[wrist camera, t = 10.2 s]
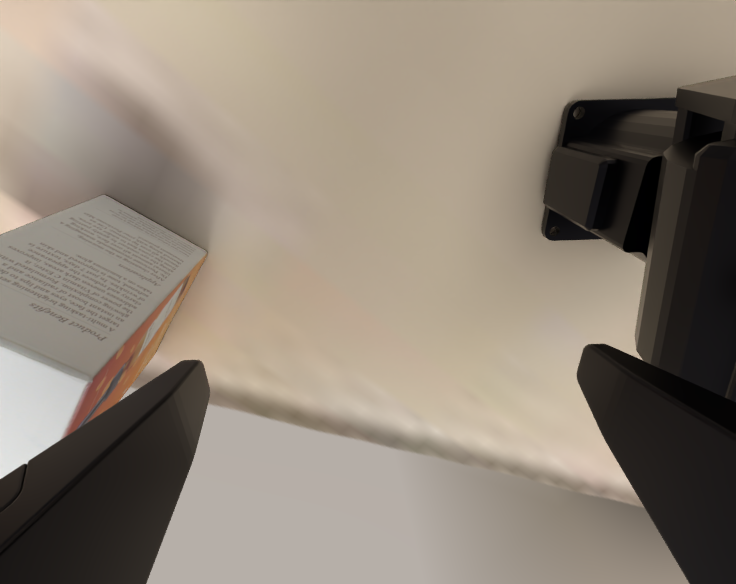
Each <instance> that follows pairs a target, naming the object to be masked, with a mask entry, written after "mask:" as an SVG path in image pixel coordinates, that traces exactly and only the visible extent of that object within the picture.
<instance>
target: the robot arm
mask: <svg viewBox="0 0 736 584" xmlns="http://www.w3.org/2000/svg"><path fill="white" fill-rule="evenodd" d="M577 107H579V108H580V114H579V116H578V117H577V118H574V116H573V113H574V110H575V109H576V108H577ZM543 202H544V204H545V205H546V209H545V214H544V219H543V224H542V234H543V236H544V237H546V238H547V239H548V240H552V241H557V240H588V239H604V240H606V241H607V242H609V243H611V244H612V245H614V246H616V247H618V248H619V249H621V250H623V251H624V252H628V253H630V254H632V255H634V256H635V257H637V258H639V259H640V260H642V261H644V262H646V266H645V272H644V279H643V285H642V292H641V298H640V304H639V311H638V317H637V324H636V330H635V341H636V350H637V352H638V353H639V355H640V356H641V358H642V359H643V361H642V360H640V359H638V358H636V357H633V356H631V355H629V354H627V353H624V352H622V351H620V350H618V349H616V348H613V347H611V346H609V345H606V344H588V345H586V346H585V347H584V349H583V352H582V356H581V359H580V363H579V366H578V370H577V380H578V383H579V385H580V387H581V390H582V392H583V394H584V396H585V398H586V401H587V403H588V405H589V407H590V409H591V411H592V414H593V416H594V418H595V420H596V422H597V425H598V427H599V429H600V431H601V433H602V435H603V437H604V439H605V441H606V443H607V444H608V446H609V448H610V450H611V451H612V453H613V455H614V456H615V458H616V460H617V462H618V463H619V465H620V467H621V468H622V470H623V472H624V473H625V475H626V477H627V479H628V480H629V482H630V484H631V485H632V487H633V489H634V490H635V492H636V494H637V495H638V497H639V499H640V501H641V502H642V504H643V506H644V507H645V509H646V511H647V512H648V514H649V516H650V518H651V519H652V521H653V522H654V524H655V526H656V528H657V529H658V531H659V533H660V534H661V536H662V538H663V540H664V541H665V543H666V545H667V546H668V548H669V550H670V551H671V553H672V555H673V556H674V558H675V560H676V562H677V563H678V565H679V567H680V568H681V570H682V572H683V573H684V575H685V577H686V579H687V580H688V582H689V583H690V584H736V76H731V77H726V78H721V79H716V80H711V81H707V82H702V83H697V84H692V85H687V86H682V87H678V89H677V95H676V98H646V99H606V100H576V101H572V102H571V103H569V104H568V105H567V107H566V108H565V111H564V114H563V119H562V124H561V130H560V135H559V140H558V145H557V148H556V149H555V150H554V151H553V153H552V158H551V163H550V168H549V174H548V179H547V185H546V190H545V195H544V201H543ZM555 226H556V230H555V231H554V232H553V233H551V234H550V230H551V228H553V227H555ZM209 397H210V387H209V383H208V379H207V376H206V372H205V368H204V365H203V363H202V361H200V360H184V361H181V362H179V363H178V364H176V365H175V366H173V367H172V368H170V369H169V370H167V371H166V372H164V373H163V374H161V375H159V376H158V377H156V378H155V379H153V380H152V381H150V382H149V383H147V384H146V385H144V386H143V387H141V388H139V389H138V390H136V391H135V392H133V393H132V394H131V395H129V396H127V397H126V398H124V399H123V400H121V401H119V402H118V403H116V404H115V405H113V406H112V407H110V408H109V409H107V410H106V411H104V412H103V413H101V414H99V415H98V416H96V417H95V418H93V419H92V420H90V421H89V422H87V423H86V424H84V425H83V426H81V427H80V428H78V429H76V430H75V431H73V432H72V433H70V434H69V435H67V436H66V437H64V438H63V439H61V440H60V441H58V442H56V443H55V444H53V445H52V446H50V447H49V448H47V449H46V450H44V451H43V452H41V453H40V454H38V455H36V456H35V457H33V458H32V459H30V460H29V461H28V463H27V464H22V465H21V466H19V467H18V468H16V469H15V470H13V471H12V472H10V473H9V474H7V475H6V476H4V477H3V478H1V479H0V584H146V583H147V580H148V577H149V575H150V572H151V570H152V567H153V564H154V562H155V559H156V556H157V554H158V551H159V548H160V546H161V543H162V541H163V538H164V535H165V533H166V530H167V527H168V525H169V522H170V520H171V517H172V514H173V512H174V509H175V506H176V504H177V501H178V499H179V496H180V493H181V491H182V488H183V485H184V483H185V480H186V478H187V475H188V472H189V470H190V467H191V464H192V461H193V458H194V455H195V452H196V448H197V444H198V440H199V436H200V433H201V429H202V425H203V421H204V417H205V413H206V409H207V405H208V401H209Z"/></svg>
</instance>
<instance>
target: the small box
mask: <svg viewBox="0 0 736 584" xmlns="http://www.w3.org/2000/svg"><path fill="white" fill-rule="evenodd" d="M206 256H207V251H205V250H204V249H202V248H200V247H198V246H196V245H194V244H193V243H191V242H189V241H187V240H185V239H184V238H182V237H180V236H178V235H177V234H175V233H173V232H171V231H170V230H168V229H166V228H164V227H162V226H161V225H159V224H157V223H155V222H153V221H152V220H150V219H148V218H146V217H144V216H143V215H141V214H139V213H137V212H135V211H133V210H132V209H130V208H128V207H126V206H124V205H123V204H121V203H119V202H117V201H115V200H114V199H112V198H110V197H108V196H106V195H100V196H98V197H96V198H93V199H91V200H88V201H86V202H83V203H81V204H78V205H75V206H73V207H70V208H68V209H65V210H62V211H60V212H57V213H55V214H53V215H50V216H47V217H44V218H42V219H39V220H36V221H34V222H32V223H29V224H26V225H24V226H21V227H19V228H16V229H14V230H11V231H8V232H6V233H3V234H1V235H0V479H1V478H3V477H4V476H6V475H7V474H9V473H10V472H12V471H13V470H15V469H16V468H18V467H19V466H21V465H22V464H27V463H28V461H29V460H30V459H32V458H33V457H35V456H36V455H38V454H40V453H41V452H43V451H44V450H46V449H47V448H49V447H50V446H52V445H53V444H55V443H56V442H58V441H60V440H61V439H63V438H64V437H66V436H67V435H69V434H70V433H72V432H73V431H75V430H76V429H78V428H80V427H81V426H83V425H84V424H86V423H87V422H89V421H90V420H92V419H93V418H95V417H96V416H98V415H99V414H101V413H103V412H104V411H106V410H107V409H109V408H110V407H112V406H113V405H115V404H116V403H118V402H119V400H120V399H121V398H122V397H123V395H124V394H125V393H126V391H127V390H128V389H129V387H130V386H131V385H132V383H133V382H134V381H135V380H136V378H137V377H138V376H139V374H140V373H141V372H142V370H143V369H144V368H145V366H146V365H147V364H148V363H149V361H150V360H151V359H152V357H153V356H154V354H155V353H156V351H157V348H158V347H159V344H160V342H161V340H162V338H163V336H164V334H165V332H166V330H167V328H168V326H169V324H170V322H171V320H172V319H173V317H174V315H175V313H176V311H177V310H178V308H179V306H180V304H181V302H182V301H183V299H184V297H185V295H186V293H187V292H188V290H189V288H190V286H191V284H192V282H193V280H194V279H195V277H196V275H197V273H198V271H199V269H200V267H201V266H202V264H203V262H204V260H205V258H206Z"/></svg>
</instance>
